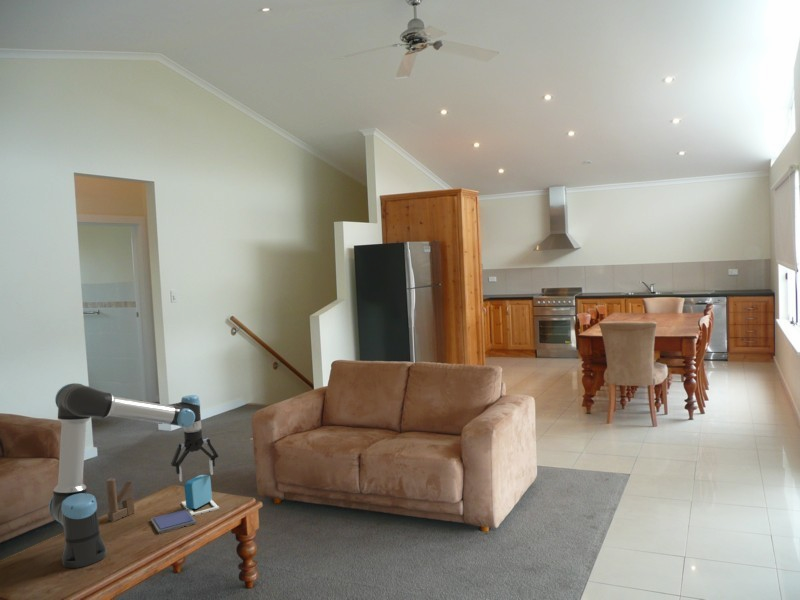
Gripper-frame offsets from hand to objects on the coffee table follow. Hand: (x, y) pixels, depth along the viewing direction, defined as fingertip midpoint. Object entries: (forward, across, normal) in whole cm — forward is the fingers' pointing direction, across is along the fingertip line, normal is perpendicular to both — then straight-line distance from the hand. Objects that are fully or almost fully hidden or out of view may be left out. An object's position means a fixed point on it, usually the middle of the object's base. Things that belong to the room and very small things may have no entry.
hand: (196, 477), depth 287 cm
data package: (+13, +1, 0) cm, 13 cm away
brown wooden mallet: (+14, -30, +12) cm, 36 cm away
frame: (+13, +1, 0) cm, 13 cm away
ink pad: (+14, -13, -11) cm, 22 cm away
